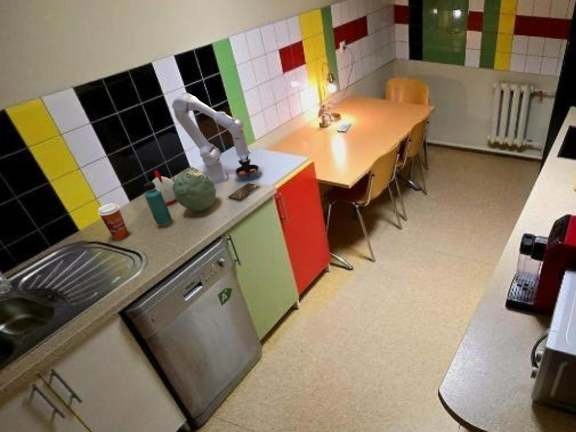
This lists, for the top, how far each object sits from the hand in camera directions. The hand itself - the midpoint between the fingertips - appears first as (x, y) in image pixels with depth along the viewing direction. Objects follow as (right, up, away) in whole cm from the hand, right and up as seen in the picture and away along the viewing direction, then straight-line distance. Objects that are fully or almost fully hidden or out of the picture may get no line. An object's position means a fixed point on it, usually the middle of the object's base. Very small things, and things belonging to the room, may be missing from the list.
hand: (247, 169), depth 214 cm
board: (+3, -13, -12) cm, 18 cm away
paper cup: (-40, -32, -38) cm, 64 cm away
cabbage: (-13, -21, -23) cm, 34 cm away
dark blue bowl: (0, -4, +2) cm, 4 cm away
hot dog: (0, -3, +2) cm, 4 cm away
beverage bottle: (-25, -28, -32) cm, 49 cm away
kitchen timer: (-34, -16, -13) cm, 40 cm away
